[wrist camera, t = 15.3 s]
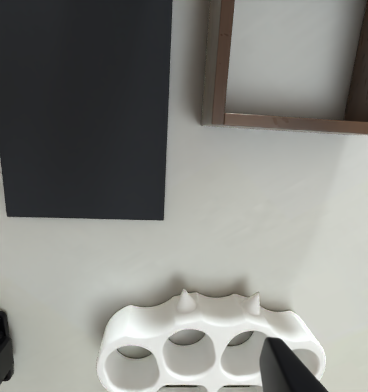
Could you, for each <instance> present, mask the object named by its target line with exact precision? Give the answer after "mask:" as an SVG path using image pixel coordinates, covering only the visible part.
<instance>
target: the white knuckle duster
mask: <svg viewBox="0 0 368 392" xmlns="http://www.w3.org/2000/svg"><path fill="white" fill-rule="evenodd" d="M185 329H196V330H200V331H202V332H204V333H206V334H205V335H204V337H203V338H202V339H201V340H200V341H198V342H196V343H194V344H191V345H186V346H183V345H177V344H174V343H172V342H171V341H170V340H169V339H168V338H169V337H170V336H171V335H173V334H174V333H176V332H178V331H181V330H185ZM246 331H254V332H253V334H252V336H251V337H250V338H249V339H248V340H247V341H246V342H244V343H243V344H240V345H237V346H227V344H228V343H229V342H230V340H231V339H232V338H234V337H235V336H237V335H238V334H240V333H243V332H246ZM266 337H275V338H280V339H282V340H283V341H284V342H285V343H286V344H287V346H288V347H289V348H290V349H291V350H292V351H293V352H294V354H295V355H296V356H297V357H298V358H299V359H300V360H301V361H302V363H303V364H304V365H305V366H306V367H307V368H308V369H309V370H310V372H311V373H312V374H313V375H314V376H315V377H316V378H317V380H318V381H319V380H320V379H321V377H322V375H323V373H324V370H325V366H326V357H325V353H324V350H323V348H322V346H321V345H320V343H319V342H318V341H317V339H316V338H315V337H314V335H313V334H312V333H311V331H310V330H309V329H308V327H307V326H306V325H305V323H304V322H303V321H302V319H301V318H300V317H299V316H298V315H297V314H295V313H294V312H292V311H290V310H289V311H284V312H273V311H269V310H267V309H264V308H263V307H261V306H260V301H259V292H257V293H255V294H254V295H252V296H251V297H249V298H247V297H244V296H241V295H237V294H232V295H229V296H226V297H220V298H212V297H207V296H204V295H201V294H199V293H197V292H193V293H188V292H187V291H186V290H185V289H184V288H183V291H182V293H181V295H178V296H173V297H172V298H171V299H170V300H168V301H167V302H165V303H163V304H160V305H157V306H153V307H138V306H134V305H129V306H126V307H124V308H122V309H120V310H119V311H118V312H116V313H115V314H114V315H113V316H112V317H111V319H110V320H109V322H108V324H107V326H106V328H105V332H104V335H103V339H102V343H101V346H100V350H99V354H98V357H97V362H96V371H97V375H98V378H99V380H100V382H101V384H102V385H103V386H104V388H105V389H106V390H108V391H109V392H263V387H262V380H261V373H260V366H259V359H260V354H261V351H262V347H263V344H264V340H265V338H266ZM128 345H135V346H141V347H143V348H146V349H147V350H149V351H150V352H151V353H152V354H151V355H149V356H147V357H145V358H140V359H132V358H128V357H125V356H123V355H122V354H120V353H119V352H118V350H117V349H118V348H120V347H123V346H128ZM165 385H197V387H163V386H165ZM226 385H251V386H250V387H223V386H226Z"/></svg>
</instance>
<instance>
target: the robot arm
mask: <svg viewBox="0 0 368 392" xmlns="http://www.w3.org/2000/svg"><path fill="white" fill-rule="evenodd" d="M13 363H14V360H13V351H12V343H11V338H10V337H9V330H8V322H7V315H6V314H5V313H4V312H2V311H0V384H1V383H2V381H8V380H10V378H11V377H12V375H13V373H14V370H13ZM259 366H260V373H261V380H262V387H263V392H328V391H327V390H326V389H325V387H324V386H323V385H322V384H321V383H320V382H319V381H318V380H317V378H316V377H315V376H314V375H313V374H312V373H311V372H310V370H309V369H308V368H307V367H306V366H305V365H304V364H303V363H302V361H301V360H300V359H299V358H298V357H297V356H296V355H295V354H294V352H293V351H292V350H291V349H290V348H289V347H288V346H287V344H286V343H285V342H284V341H283V340H282V339H280V338H275V337H266V338H265V340H264V344H263V347H262V351H261V354H260V359H259Z"/></svg>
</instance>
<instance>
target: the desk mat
mask: <svg viewBox="0 0 368 392" xmlns="http://www.w3.org/2000/svg"><path fill="white" fill-rule="evenodd" d="M171 24H172V0H0V158H1V167H2V176H3V185H4V194H5V203H6V212H7V216H8V217H48V218H88V219H128V220H164V197H165V172H166V148H167V123H168V98H169V73H170V49H171Z"/></svg>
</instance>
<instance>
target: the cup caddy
mask: <svg viewBox="0 0 368 392" xmlns="http://www.w3.org/2000/svg"><path fill="white" fill-rule="evenodd" d="M234 2H235V0H210V5H209V19H208V33H207V47H206V61H205V76H204V90H203V104H202V118H201V126H213V127H229V128H245V129H262V130H278V131H294V132H310V133H327V134H343V135H368V0H367V4H366V9H365V14H364V19H363V24H362V29H361V34H360V39H359V44H358V50H357V55H356V60H355V65H354V70H353V75H352V80H351V85H350V90H349V95H348V100H347V105H346V110H345V116H344V121H341V120H326V119H312V118H297V117H282V116H267V115H252V114H237V113H224V112H225V101H226V90H227V79H228V68H229V57H230V46H231V35H232V24H233V13H234Z"/></svg>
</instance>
